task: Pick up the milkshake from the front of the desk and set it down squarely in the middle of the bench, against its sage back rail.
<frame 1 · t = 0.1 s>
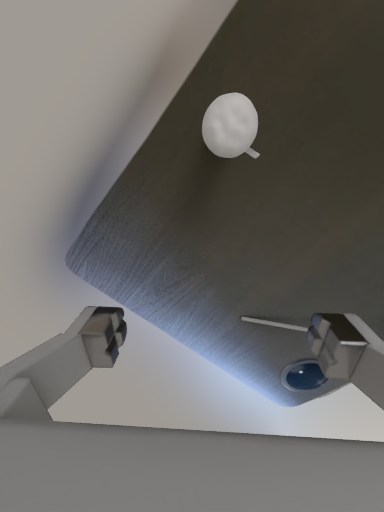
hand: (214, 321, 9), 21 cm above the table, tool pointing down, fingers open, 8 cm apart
milkshake: (224, 139, 24), on the table
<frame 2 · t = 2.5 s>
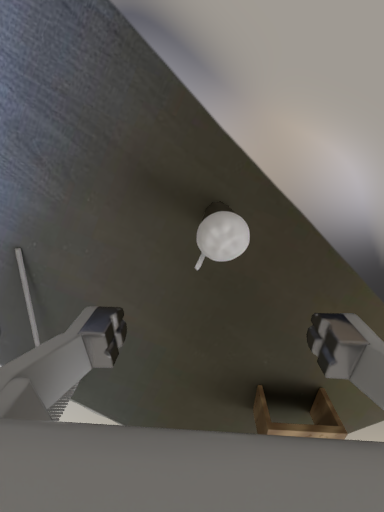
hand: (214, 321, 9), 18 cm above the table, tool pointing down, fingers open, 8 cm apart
brush: (52, 326, 35), on the table
bench: (286, 399, 40), on the table
milkshake: (214, 216, 25), on the table
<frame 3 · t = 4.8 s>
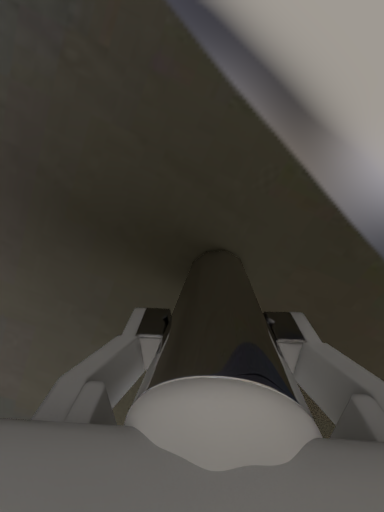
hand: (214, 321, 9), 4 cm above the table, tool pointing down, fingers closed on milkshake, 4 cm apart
milkshake: (212, 276, 12), on the table, touching gripper
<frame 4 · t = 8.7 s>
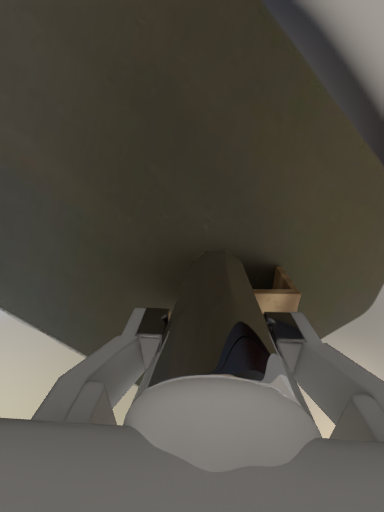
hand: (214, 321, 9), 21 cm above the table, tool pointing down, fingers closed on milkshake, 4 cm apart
bench: (239, 288, 33), on the table
milkshake: (211, 276, 12), point 17 cm above the table, touching gripper
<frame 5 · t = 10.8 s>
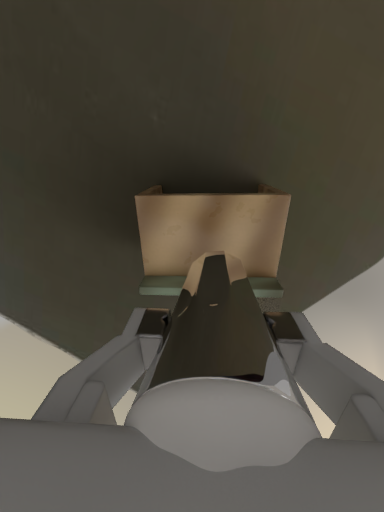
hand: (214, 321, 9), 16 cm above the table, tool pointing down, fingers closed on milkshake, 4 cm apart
bench: (208, 221, 24), on the table
milkshake: (212, 276, 12), point 13 cm above the table, touching gripper
when the fingers open (11 cm above the table, at t = 12.5 s): milkshake stays where it is, resting on bench.
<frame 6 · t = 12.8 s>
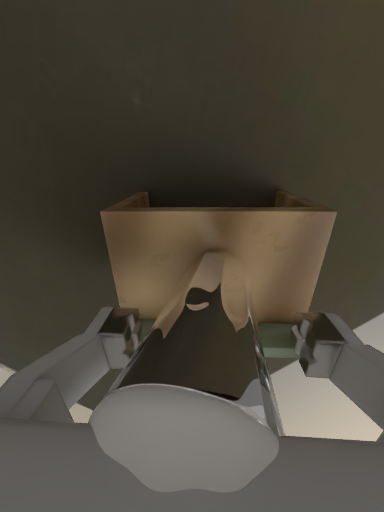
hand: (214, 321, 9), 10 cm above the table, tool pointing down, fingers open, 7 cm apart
bench: (210, 237, 18), on the table
milkshake: (212, 277, 12), point 7 cm above the table, touching bench
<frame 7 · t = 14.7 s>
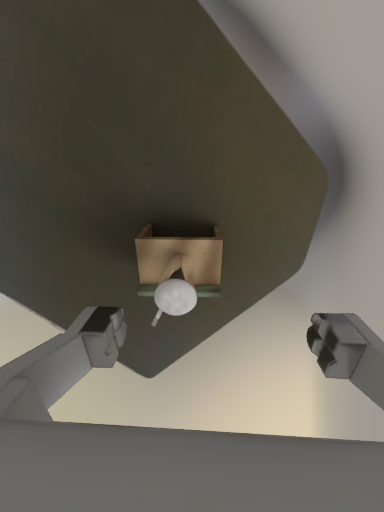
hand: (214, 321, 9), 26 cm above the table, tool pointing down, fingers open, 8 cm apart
bench: (182, 246, 36), on the table
milkshake: (179, 264, 30), point 7 cm above the table, touching bench
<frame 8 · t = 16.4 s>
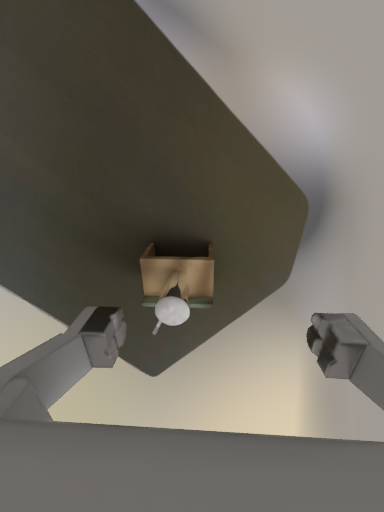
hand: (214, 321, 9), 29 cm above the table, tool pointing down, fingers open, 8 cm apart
bench: (181, 261, 41), on the table
milkshake: (177, 279, 34), point 7 cm above the table, touching bench
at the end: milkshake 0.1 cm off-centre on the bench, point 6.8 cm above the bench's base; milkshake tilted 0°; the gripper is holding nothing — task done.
